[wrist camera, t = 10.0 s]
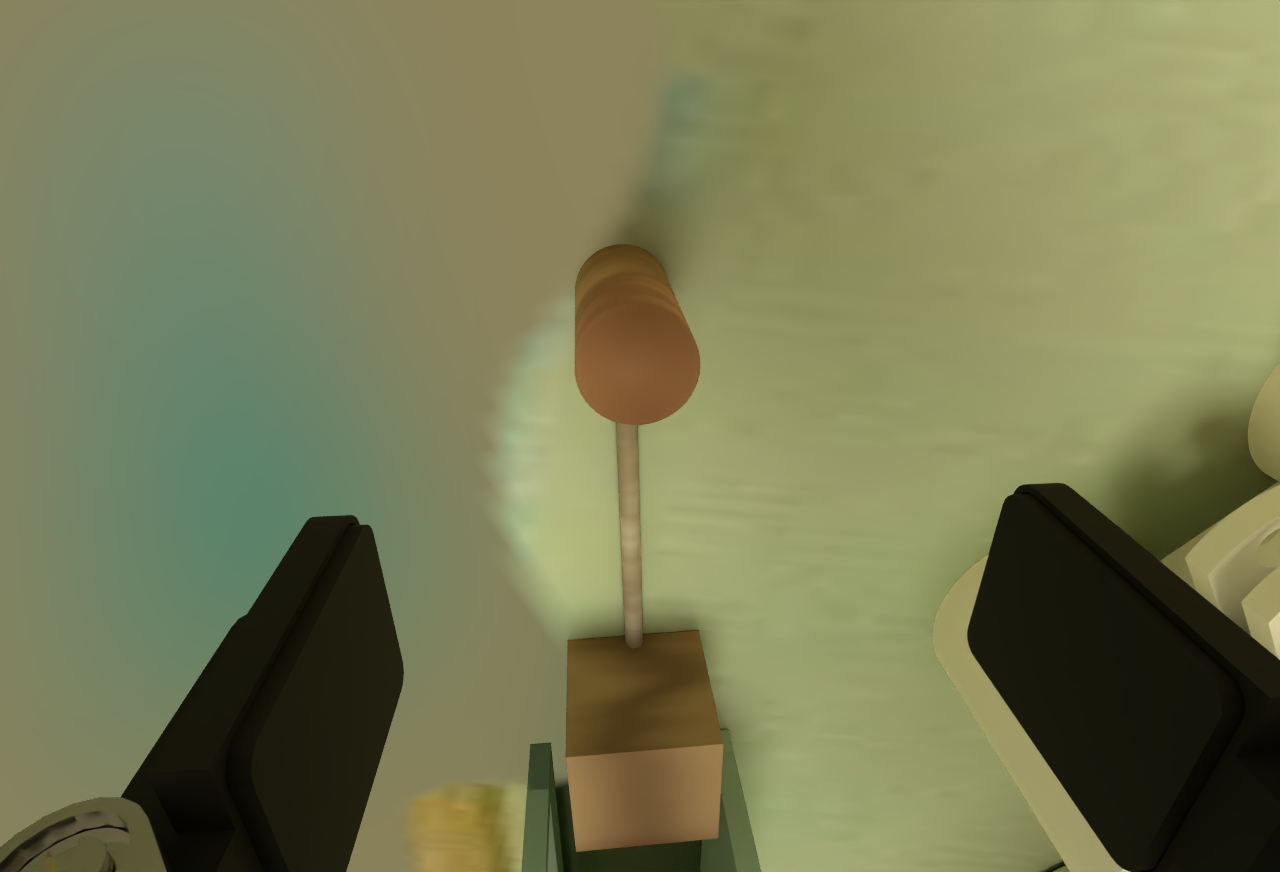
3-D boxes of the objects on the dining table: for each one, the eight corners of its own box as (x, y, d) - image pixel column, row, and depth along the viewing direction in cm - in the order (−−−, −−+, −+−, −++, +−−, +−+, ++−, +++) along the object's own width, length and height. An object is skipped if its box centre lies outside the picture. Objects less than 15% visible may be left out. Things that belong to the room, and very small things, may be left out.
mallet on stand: (709, 241, 23) (758, 302, 17) (696, 719, 34) (722, 862, 28) (529, 248, 22) (511, 313, 16) (576, 729, 34) (576, 876, 27)
